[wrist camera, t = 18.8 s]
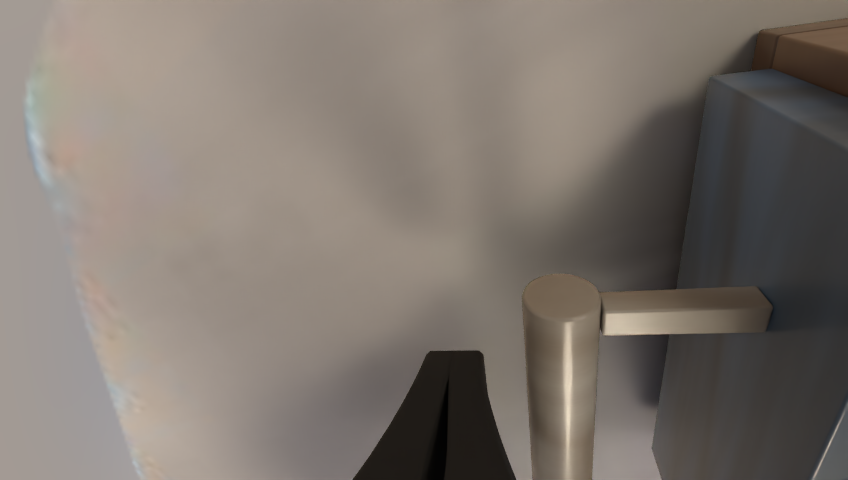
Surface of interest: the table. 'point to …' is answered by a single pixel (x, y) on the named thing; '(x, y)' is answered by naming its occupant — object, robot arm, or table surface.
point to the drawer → (724, 305)
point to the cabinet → (807, 53)
